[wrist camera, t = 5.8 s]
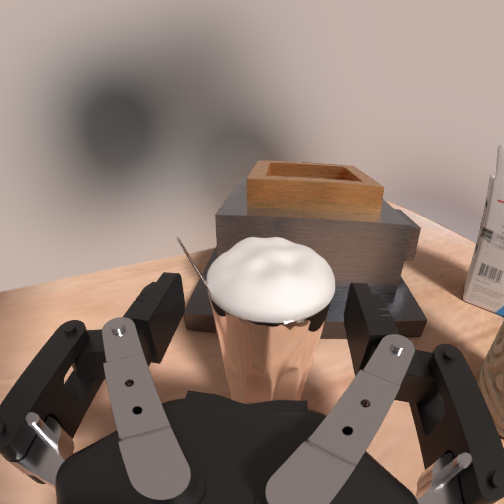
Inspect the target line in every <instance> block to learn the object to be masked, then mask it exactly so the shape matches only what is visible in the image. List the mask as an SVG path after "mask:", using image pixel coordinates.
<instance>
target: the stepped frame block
mask: <svg viewBox="0 0 504 504" xmlns="http://www.w3.org/2000/svg"><path fill="white" fill-rule="evenodd" d="M383 191H384V187H383V186H382V185H380V184H379V183H377V182H376V181H374V180H373V179H372V178H370V177H369V176H367V175H366V174H364V173H363V172H361V171H360V170H358V169H357V168H356V167H354V166H346V165H335V164H322V163H306V162H286V161H258V162H257V164H256V165H255V167H254V168H253V170H252V171H251V173H250V175H249V176H248V177H242V178H241V180H240V181H239V183H238V184H237V185H236V187H235V188H234V189H233V191H232V192H231V194H230V195H229V196H228V198H227V199H226V201H225V202H224V203H223V205H222V206H221V208H220V209H219V210H218V212H217V213H216V215H215V217H216V237H217V246H216V248H215V250H214V252H213V254H212V256H211V258H210V260H209V262H208V264H207V266H206V268H205V270H204V272H203V274H202V277H203V278H204V280H205V281H206V278H207V273H208V270H209V268H210V266H211V265H212V263H213V262H214V261H215V260H216V259H217V258H218V257H219V256H220V255H222V254H223V253H225V252H227V251H229V250H230V249H231V248H232V247H233V246H234V245H236V244H237V243H238V242H240V241H242V240H244V239H246V238H249V237H257V238H271V237H280V238H284V239H286V240H289V241H291V242H293V243H296V244H300V245H304V246H307V247H309V248H311V249H312V250H314V251H315V252H316V253H317V254H318V255H320V256H321V257H322V258H324V259H325V261H326V262H327V263H328V264H329V266H330V267H331V269H332V271H333V274H334V278H335V293H334V296H333V299H332V303H331V306H330V309H329V312H328V315H327V319H326V322H325V325H324V328H323V331H322V334H321V337H320V338H323V339H347V335H346V331H345V327H344V310H345V305H346V300H347V296H348V291H349V286H350V284H351V283H367V284H368V285H369V288H370V290H371V292H372V294H378V295H379V296H380V297H381V298H382V299H384V300H385V302H386V304H387V306H388V310H389V311H390V313H391V316H392V317H393V320H394V322H395V324H396V326H397V329H398V331H399V333H400V335H401V336H404V337H417V336H421V335H422V332H423V330H424V327H425V325H426V322H427V319H426V317H425V315H424V314H423V312H422V310H421V308H420V307H419V305H418V303H417V302H416V300H415V298H414V297H413V295H412V293H411V292H410V290H409V289H408V287H407V285H406V284H405V282H404V281H403V279H402V277H401V272H402V268H403V264H404V260H414V256H415V252H416V248H417V243H418V239H419V234H420V229H421V228H420V227H419V226H418V225H417V224H416V223H415V222H414V221H412V220H411V219H410V218H409V217H408V216H407V215H406V214H404V213H403V212H402V211H401V210H397V209H393V208H392V207H391V206H390V205H389V204H388V203H387V202H386V201H384V200H383ZM184 318H185V324H186V329H187V330H195V331H205V332H215V333H217V331H216V326H215V322H214V318H213V313H212V309H211V304H210V299H209V295H208V290H207V287H206V285H205V284H204V282H203V281H202V279H201V278H200V280H199V282H198V284H197V286H196V288H195V290H194V292H193V294H192V296H191V298H190V300H189V303H188V305H187V307H186V309H185V311H184Z"/></svg>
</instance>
